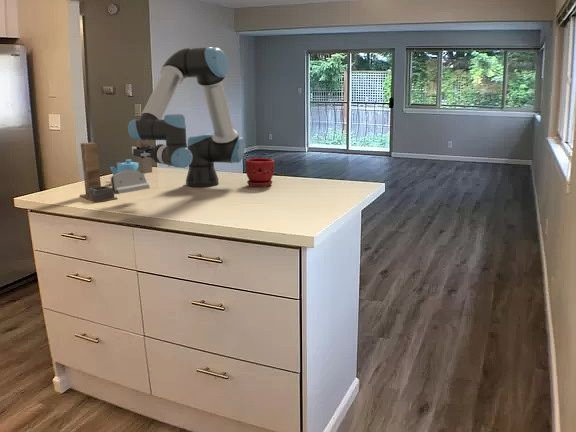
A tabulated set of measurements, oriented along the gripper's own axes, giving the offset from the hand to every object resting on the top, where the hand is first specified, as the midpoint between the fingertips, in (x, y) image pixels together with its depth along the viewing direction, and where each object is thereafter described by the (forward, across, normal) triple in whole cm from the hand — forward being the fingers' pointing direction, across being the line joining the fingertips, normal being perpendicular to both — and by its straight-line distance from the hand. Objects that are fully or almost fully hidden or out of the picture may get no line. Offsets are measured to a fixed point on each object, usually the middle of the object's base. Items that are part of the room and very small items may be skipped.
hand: (138, 149), depth 237 cm
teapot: (+38, +12, -20) cm, 44 cm away
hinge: (+17, +2, -20) cm, 27 cm away
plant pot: (-16, +51, -20) cm, 57 cm away
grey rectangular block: (-5, 0, -9) cm, 10 cm away
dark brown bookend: (+10, -15, -20) cm, 27 cm away
